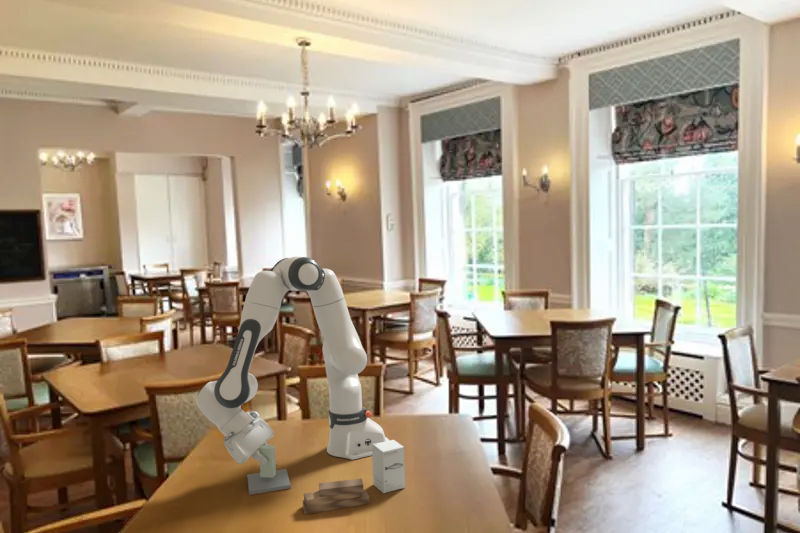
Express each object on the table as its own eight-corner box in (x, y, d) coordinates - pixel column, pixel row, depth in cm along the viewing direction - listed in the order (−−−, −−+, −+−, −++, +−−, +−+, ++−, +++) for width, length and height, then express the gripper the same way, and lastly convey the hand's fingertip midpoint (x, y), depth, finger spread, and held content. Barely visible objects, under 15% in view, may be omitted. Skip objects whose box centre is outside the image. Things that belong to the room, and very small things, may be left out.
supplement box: (383, 494, 168) (382, 451, 167) (372, 484, 175) (371, 443, 174) (406, 488, 172) (404, 446, 171) (394, 478, 178) (393, 438, 177)
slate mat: (286, 471, 186) (286, 468, 185) (290, 488, 174) (290, 485, 174) (247, 477, 182) (247, 474, 182) (249, 494, 171) (248, 491, 171)
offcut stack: (365, 495, 168) (364, 475, 168) (370, 504, 163) (369, 483, 162) (302, 506, 163) (301, 485, 162) (305, 515, 157) (304, 494, 157)
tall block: (263, 473, 180) (262, 444, 179) (276, 474, 179) (274, 445, 178) (260, 476, 177) (258, 448, 176) (272, 477, 176) (271, 448, 176)
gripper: (227, 432, 168) (261, 467, 167) (258, 409, 188) (288, 440, 187) (214, 447, 169) (247, 481, 168) (246, 422, 189) (276, 453, 188)
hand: (269, 459), depth 177 cm, fingers open, 3 cm apart
